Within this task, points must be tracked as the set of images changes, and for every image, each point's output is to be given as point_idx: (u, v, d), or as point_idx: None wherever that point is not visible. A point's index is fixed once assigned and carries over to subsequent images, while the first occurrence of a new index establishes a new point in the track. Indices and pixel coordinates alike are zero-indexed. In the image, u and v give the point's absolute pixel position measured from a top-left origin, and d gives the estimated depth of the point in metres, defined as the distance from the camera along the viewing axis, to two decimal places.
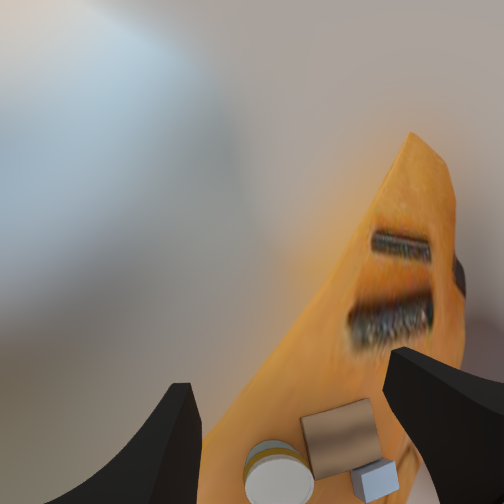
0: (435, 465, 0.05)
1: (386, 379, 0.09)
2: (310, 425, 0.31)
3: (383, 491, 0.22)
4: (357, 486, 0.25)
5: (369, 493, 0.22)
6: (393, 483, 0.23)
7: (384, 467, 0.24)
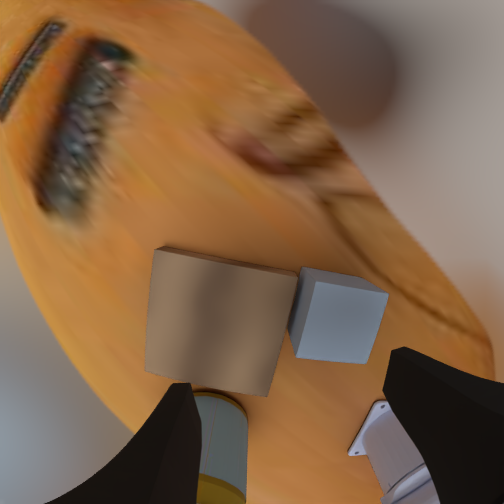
0: (435, 465, 0.05)
1: (386, 379, 0.09)
2: (160, 366, 0.20)
3: (367, 327, 0.16)
4: None
5: (349, 353, 0.16)
6: (367, 301, 0.16)
7: (315, 308, 0.16)
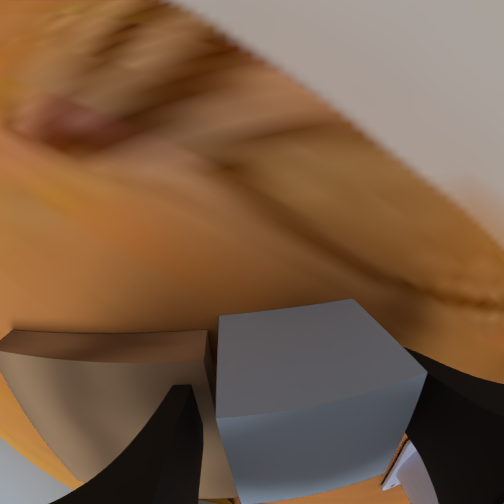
0: (434, 466, 0.05)
1: None
2: (88, 477, 0.09)
3: (381, 440, 0.06)
4: None
5: (348, 478, 0.06)
6: (373, 410, 0.05)
7: (241, 456, 0.05)
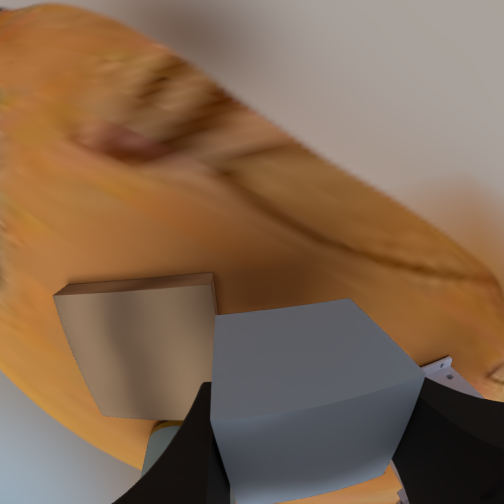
0: (408, 479, 0.05)
1: None
2: (113, 409, 0.16)
3: (379, 442, 0.06)
4: None
5: (346, 480, 0.06)
6: (371, 412, 0.05)
7: (237, 458, 0.05)
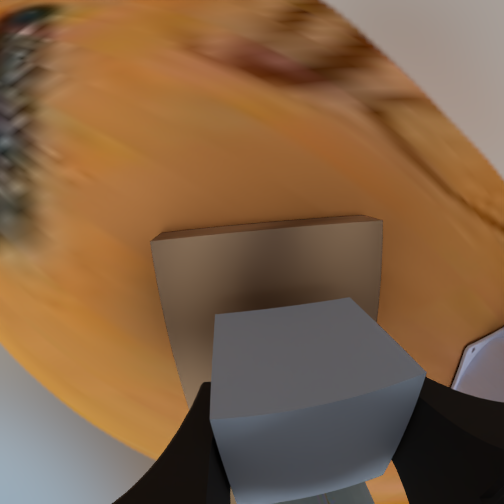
0: (408, 479, 0.05)
1: None
2: None
3: (379, 442, 0.06)
4: None
5: (346, 480, 0.06)
6: (371, 411, 0.05)
7: (236, 458, 0.05)
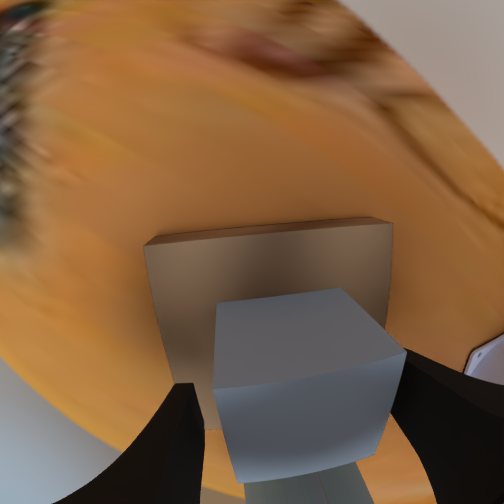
0: (433, 466, 0.05)
1: None
2: (212, 418, 0.12)
3: (367, 418, 0.07)
4: None
5: (339, 457, 0.07)
6: (357, 386, 0.06)
7: (236, 429, 0.06)
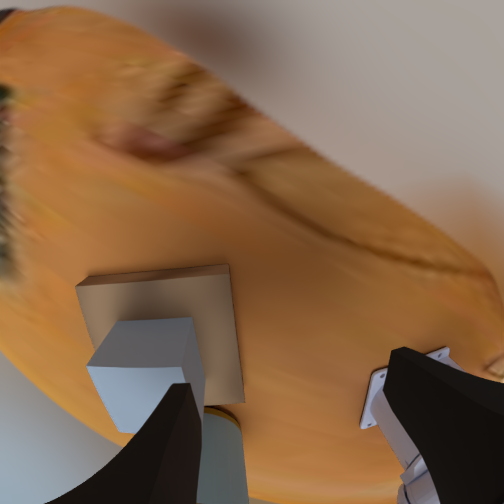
0: (435, 465, 0.05)
1: (386, 379, 0.09)
2: None
3: None
4: None
5: None
6: (155, 379, 0.11)
7: (102, 390, 0.11)
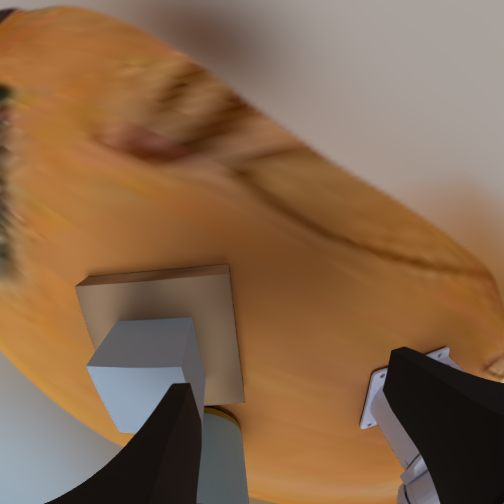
0: (435, 465, 0.05)
1: (386, 379, 0.09)
2: None
3: None
4: None
5: None
6: (155, 379, 0.11)
7: (102, 390, 0.11)
